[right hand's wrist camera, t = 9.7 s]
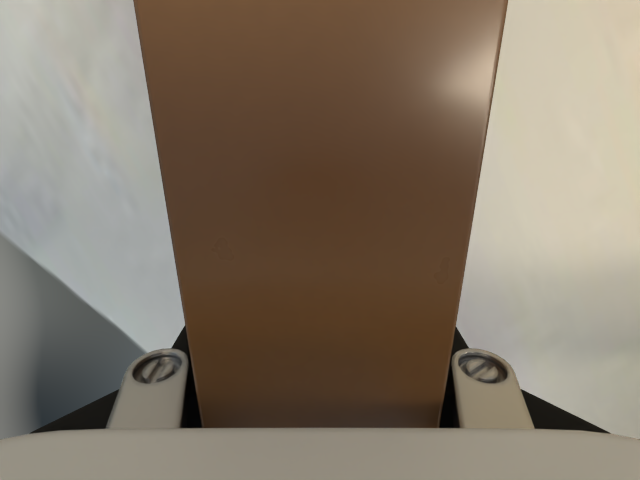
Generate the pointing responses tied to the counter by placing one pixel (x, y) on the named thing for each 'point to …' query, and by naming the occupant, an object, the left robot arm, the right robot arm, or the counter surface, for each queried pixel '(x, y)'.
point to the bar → (320, 197)
